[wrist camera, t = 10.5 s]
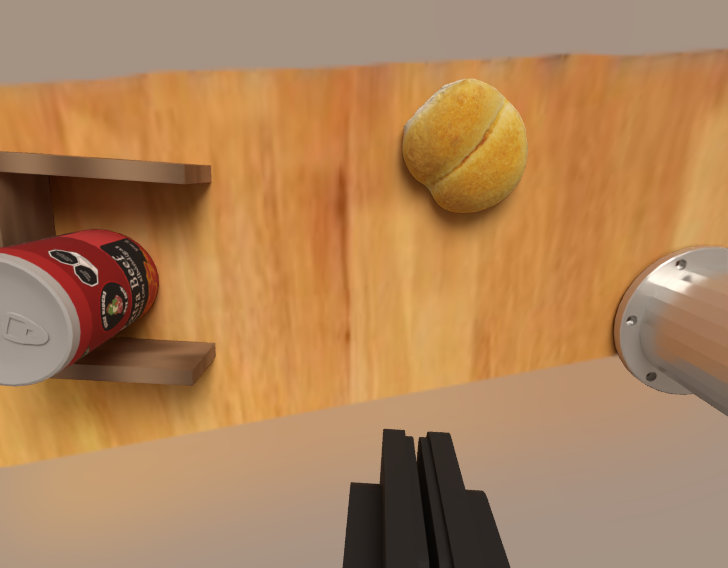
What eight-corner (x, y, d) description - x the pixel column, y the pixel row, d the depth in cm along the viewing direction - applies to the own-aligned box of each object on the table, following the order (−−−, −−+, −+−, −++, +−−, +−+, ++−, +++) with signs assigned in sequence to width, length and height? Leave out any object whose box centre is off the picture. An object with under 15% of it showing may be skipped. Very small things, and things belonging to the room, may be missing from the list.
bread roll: (461, 231, 33) (475, 239, 29) (382, 144, 32) (386, 141, 28) (544, 154, 32) (570, 152, 28) (467, 59, 30) (483, 43, 26)
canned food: (163, 325, 35) (77, 394, 24) (63, 316, 34) (-69, 381, 24) (162, 233, 33) (68, 262, 22) (56, 222, 32) (-91, 246, 22)
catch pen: (210, 165, 31) (184, 164, 27) (215, 356, 35) (192, 385, 31) (29, 153, 31) (-32, 149, 26) (54, 347, 35) (5, 375, 30)
